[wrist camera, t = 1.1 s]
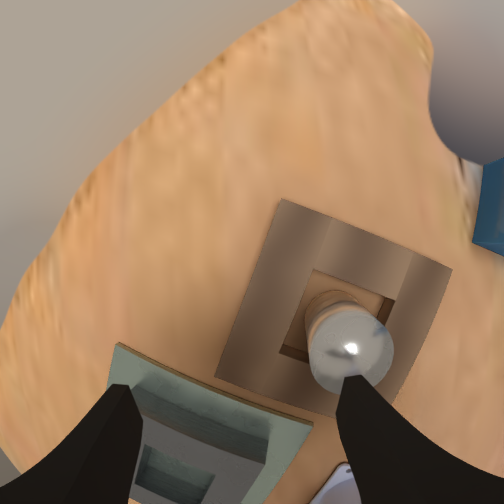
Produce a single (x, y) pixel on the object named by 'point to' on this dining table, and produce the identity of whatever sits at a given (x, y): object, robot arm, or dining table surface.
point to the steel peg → (345, 341)
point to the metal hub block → (202, 438)
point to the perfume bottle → (491, 209)
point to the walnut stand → (291, 291)
